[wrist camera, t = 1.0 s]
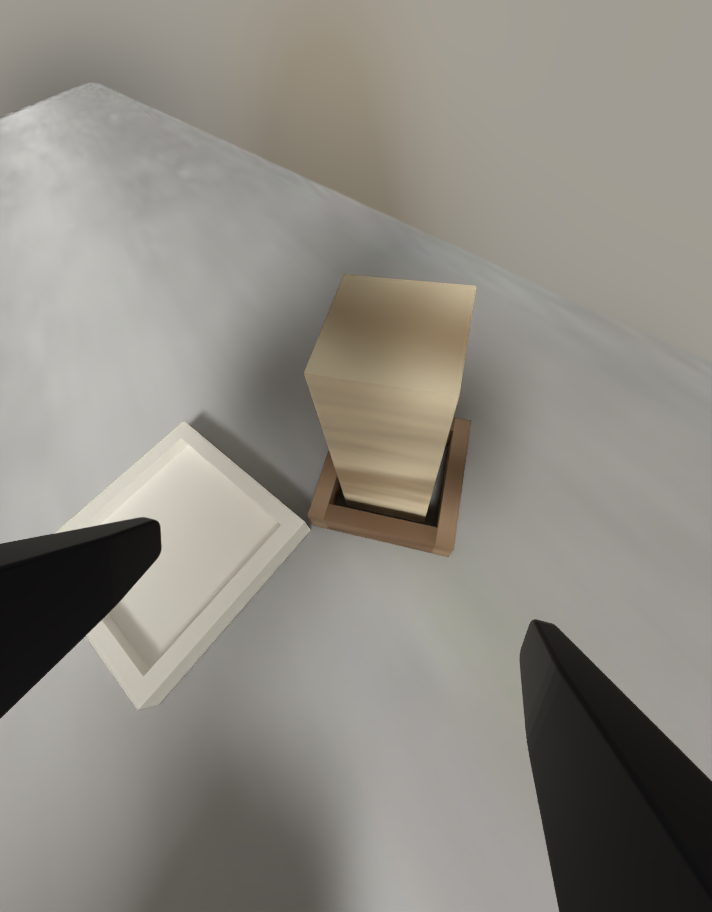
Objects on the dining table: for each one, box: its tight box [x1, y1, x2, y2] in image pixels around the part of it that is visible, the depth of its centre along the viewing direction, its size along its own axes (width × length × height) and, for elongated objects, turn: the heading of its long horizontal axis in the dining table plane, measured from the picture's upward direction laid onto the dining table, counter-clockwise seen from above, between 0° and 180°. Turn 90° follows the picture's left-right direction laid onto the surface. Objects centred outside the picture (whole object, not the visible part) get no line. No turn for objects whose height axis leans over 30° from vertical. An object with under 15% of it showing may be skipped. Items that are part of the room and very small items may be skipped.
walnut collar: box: [307, 418, 471, 557], centre depth 23 cm, size 8×8×2 cm
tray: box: [54, 421, 311, 710], centre depth 22 cm, size 12×12×2 cm
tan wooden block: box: [304, 274, 476, 523], centre depth 18 cm, size 5×5×13 cm
